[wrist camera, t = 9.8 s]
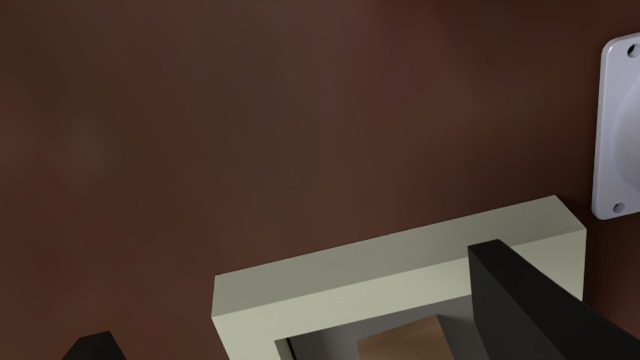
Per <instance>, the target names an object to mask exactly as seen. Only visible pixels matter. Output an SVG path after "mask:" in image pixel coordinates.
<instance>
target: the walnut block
mask: <svg viewBox="0 0 640 360" xmlns="http://www.w3.org/2000/svg"><path fill="white" fill-rule="evenodd" d="M356 342H357V347H358V352H359V356H360V360H454V358H453V355H452V353H451V350H450V348H449V345H448V343H447V341H446V338H445V336H444V333H443V331H442V328H441V326H440V323H439V321H438V318H437V316H436V314H434V315H431V316H428V317H425V318H422V319H419V320H416V321H414V322H411V323H408V324H405V325H402V326H399V327H396V328H393V329H390V330H387V331H384V332H381V333H378V334H375V335H372V336H369V337H366V338H363V339H360V340H357V341H356Z"/></svg>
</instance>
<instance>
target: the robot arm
mask: <svg viewBox="0 0 640 360" xmlns="http://www.w3.org/2000/svg"><path fill="white" fill-rule="evenodd" d="M633 44H635V47H634V50H633V51H632V52H631V53H630V54H628V55H627V51H628V49H629V48H630V46H631V45H633ZM618 203H619V204H618ZM616 204H618V205H617V206H616V207H614V206H615V205H616ZM639 211H640V32H639V33H635V34H631V35H627V36H623V37H618V38H615V39H613V40H611V41H609V42H608V43H607V44H606V45H605V47H604V48H603V51H602V56H601V72H600V87H599V102H598V118H597V133H596V148H595V163H594V179H593V194H592V213H593V214H594V215H595V216H596V217H597V218H598V219H601V220H605V219H610V218H614V217H618V216H622V215H627V214H631V213H635V212H639ZM467 249H468V260H469V271H470V283H471V294H472V306H473V317H474V322H475V324H476V327H477V329H478V332H479V335H480V337H481V340H482V342H483V345H484V347H485V350H486V352H487V354H488V357H489V359H490V360H640V340H639V339H638V338H636V337H634V336H633V335H631V334H630V333H628V332H627V331H625V330H623V329H622V328H620V327H619V326H617V325H616V324H614V323H613V322H611V321H610V320H608V319H607V318H605V317H604V316H602V315H601V314H599V313H598V312H596V311H595V310H593V309H592V308H591V307H589V306H588V305H586V304H585V303H583V302H582V301H581V300H579V299H578V298H576V297H575V296H574V295H572V294H571V293H569V292H568V291H566V290H565V289H564V288H562V287H561V286H560V285H558V284H557V283H556V282H554V281H553V280H552V279H550V278H549V277H548V276H546V275H545V274H544V273H542V272H541V271H540V270H538V269H537V268H536V267H535V266H533V265H532V264H531V263H529V262H528V261H527V260H526V259H524V258H523V257H522V256H520V255H519V254H518V253H517V252H515V251H514V250H513V249H512V248H510V247H509V246H508V245H507V244H505V243H504V242H503V241H501V240H499V239H494V240H490V241H486V242H482V243H478V244H473V245H469V246H467ZM62 360H126V358H125V356H124V354H123V353H122V351H121V349H120V348H119V346H118V344H117V343H116V341H115V339H114V338H113V336H112V334H111V333H110V331H106V332H102V333H98V334H93V335H89V336H85V337H81V338H79V339H78V340H77V341H76V343H75V344H74V345H73V346H72V347H71V348H70V350H69V351H68V352H67V353H66V355H65V356H64V357H63V358H62Z"/></svg>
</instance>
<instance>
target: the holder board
mask: <svg viewBox="0 0 640 360" xmlns="http://www.w3.org/2000/svg"><path fill="white" fill-rule="evenodd" d="M586 230H587V229H586V228H585V227H584V226H583V225H582V223H581V222H580V221H579V220H578V219H577V218H576V217H575V216H574V215H573V214H572V213H571V212H570V211H569V209H568V208H567V207H566V206H565V205H564V204H563V203H562V202H561V201H560V200H559V199H558V198H557V197H556V195H553V196H549V197H545V198H541V199H537V200H532V201H528V202H524V203H520V204H516V205H511V206H507V207H503V208H499V209H495V210H490V211H486V212H482V213H478V214H473V215H469V216H465V217H461V218H457V219H452V220H448V221H444V222H440V223H436V224H431V225H427V226H423V227H419V228H415V229H410V230H406V231H402V232H398V233H394V234H389V235H385V236H381V237H377V238H373V239H368V240H364V241H360V242H356V243H352V244H347V245H343V246H339V247H335V248H330V249H326V250H322V251H318V252H314V253H309V254H305V255H301V256H297V257H293V258H288V259H284V260H280V261H276V262H272V263H267V264H263V265H259V266H255V267H251V268H246V269H242V270H238V271H234V272H230V273H225V274H221V275H217V276H215V286H214V296H213V306H212V316H211V318H212V320H213V322H214V325H215V327H216V329H217V331H218V334H219V336H220V338H221V340H222V343H223V345H224V347H225V349H226V352H227V354H228V356H229V358H230V360H294V359H293V356H292V353H291V350H290V347H289V345H288V342H287V339H286V338H287V337H289V339H290V342H291V344H292V347H293V350H294V353H295V356H296V359H297V360H360V356H359V352H358V347H357V342H356V341H357V340H360V339H363V338H366V337H369V336H372V335H375V334H378V333H381V332H384V331H387V330H390V329H393V328H396V327H399V326H402V325H405V324H408V323H411V322H414V321H416V320H419V319H422V318H425V317H428V316H431V315H434V314H436V316H437V318H438V321H439V323H440V326H441V328H442V331H443V333H444V336H445V338H446V341H447V343H448V345H449V348H450V350H451V353H452V355H453V358H454V360H490V359H489V357H488V354H487V352H486V350H485V347H484V345H483V342H482V340H481V337H480V335H479V332H478V329H477V327H476V324H475V322H474V317H473V306H472V294H471V283H470V271H469V260H468V249H467V246H469V245H473V244H478V243H482V242H486V241H490V240H494V239H499V240H501V241H503V242H504V243H505V244H507V245H508V246H509V247H510V248H512V249H513V250H514V251H515V252H517V253H518V254H519V255H520V256H522V257H523V258H524V259H526V260H527V261H528V262H529V263H531V264H532V265H533V266H535V267H536V268H537V269H538V270H540V271H541V272H542V273H544V274H545V275H546V276H548V277H549V278H550V279H552V280H553V281H554V282H556V283H557V284H558V285H560V286H561V287H562V288H564V289H565V290H566V291H568V292H569V293H571V294H572V295H574V296H575V297H576V298H578V299H579V300H581V301H582V296H583V279H584V263H585V247H586Z"/></svg>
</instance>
